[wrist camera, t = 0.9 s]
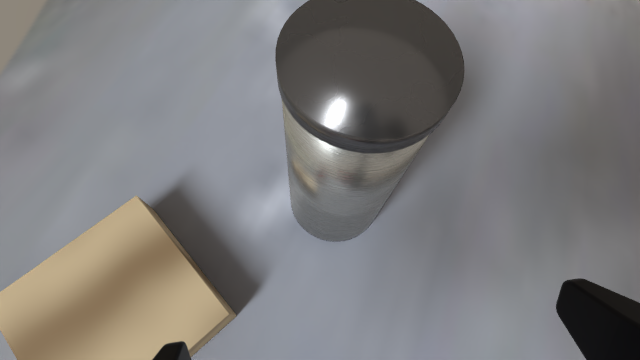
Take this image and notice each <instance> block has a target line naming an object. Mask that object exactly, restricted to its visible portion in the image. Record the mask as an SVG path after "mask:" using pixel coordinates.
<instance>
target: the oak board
mask: <svg viewBox="0 0 640 360" xmlns="http://www.w3.org/2000/svg"><path fill="white" fill-rule="evenodd" d="M236 316H237V315H236V314H235V313H234V312H233V310H232V309H231V308H230V306H229V305H228V304H227V303H226V301H225V300H224V299H223V298H222V296H221V295H220V294H219V292H218V291H217V290H216V289H215V287H214V286H213V285H212V284H211V282H210V281H209V280H208V278H207V277H206V276H205V275H204V273H203V272H202V271H201V270H200V268H199V267H198V266H197V265H196V263H195V262H194V261H193V259H192V258H191V257H190V256H189V254H188V253H187V252H186V251H185V249H184V248H183V247H182V245H181V244H180V243H179V242H178V240H177V239H176V238H175V237H174V235H173V234H172V233H171V232H170V230H169V229H168V228H167V226H166V225H165V224H164V223H163V221H162V220H161V219H160V218H159V216H158V215H157V214H156V212H155V211H154V210H153V209H152V208H151V207H150V206H149V205H147V204H146V203H145V202H144V201H143V200H141V199H140V198H139V197H138V196H135V197H134V198H132V199H131V200H130V201H128V202H127V203H125V204H124V205H122V206H121V207H120V208H118V209H117V210H115V211H114V212H113V213H111V214H110V215H108V216H107V217H106V218H104V219H103V220H101V221H100V222H98V223H97V224H96V225H94V226H93V227H91V228H90V229H89V230H87V231H86V232H84V233H83V234H82V235H80V236H79V237H77V238H76V239H75V240H73V241H72V242H70V243H69V244H67V245H66V246H65V247H63V248H62V249H60V250H59V251H58V252H56V253H55V254H53V255H52V256H51V257H49V258H48V259H46V260H45V261H43V262H42V263H41V264H39V265H38V266H36V267H35V268H34V269H32V270H31V271H29V272H28V273H27V274H25V275H24V276H22V277H21V278H20V279H18V280H17V281H15V282H14V283H12V284H11V285H10V286H8V287H7V288H5V289H4V290H3V291H1V292H0V330H1V332H2V334H3V336H4V337H5V339H6V341H7V343H8V344H9V346H10V348H11V350H12V351H13V353H14V355H15V357H16V358H17V360H152V359H153V358H154V357H155V355H156V354H157V353H158V352H159V350H160V349H161V348H162V347H163V346H164V345H165V344H167V343H172V342H179V341H184V342H185V343H186V345H187V348H188V351H189V354H190V357H192V356H193V355H194V354H195V353H196V352H197V351H198V350H199V349H201V348H202V347H203V346H204V345H205V344H206V343H207V342H208V341H209V340H211V339H212V338H213V337H214V336H215V335H216V334H217V333H218V332H219V331H221V330H222V329H223V328H224V327H225V326H226V325H227V324H228V323H229V322H230V321H232V320H233V319H234V318H235V317H236Z"/></svg>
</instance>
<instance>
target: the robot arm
mask: <svg viewBox="0 0 640 360" xmlns="http://www.w3.org/2000/svg"><path fill="white" fill-rule="evenodd" d="M556 310H557V313H558V315H559V317H560V319H561V320H562V322H563V324H564V325H565V327H566V328H567V330H568V331H569V333H570V335H571V336H572V338H573V339H574V341H575V343H576V344H577V346H578V347H579V349H580V350H581V352H582V354H583V355H584V357H585V358H586V360H640V303H638V302H636V301H634V300H632V299H629V298H627V297H625V296H622V295H620V294H618V293H615V292H613V291H611V290H608V289H606V288H604V287H601V286H599V285H597V284H595V283H592V282H590V281H588V280H585V279H572V280H567V281H565V282H564V283H563V284H562V287H561V290H560V293H559V297H558V300H557V304H556ZM152 360H191V357H190V354H189V351H188V348H187V345H186V343H185V342H184V341H179V342H172V343H167V344H165V345H164V346H163V347H162V348H161V349H160V350H159V352H158V353H157V354H156V355H155V357H154V358H153V359H152Z"/></svg>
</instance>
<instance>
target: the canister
mask: <svg viewBox="0 0 640 360" xmlns="http://www.w3.org/2000/svg"><path fill="white" fill-rule="evenodd" d="M276 69H277V79H278V87H279V91H280V94H281V98H282V104H283V116H284V128H285V140H286V152H287V164H288V176H289V187H290V199H291V207H292V211H293V214H294V216H295V218H296V220H297V221H298V223H299V224H300V225H301V227H302V228H303V229H304V230H306V231H307V232H308V233H309V234H311V235H313V236H315V237H317V238H319V239H322V240H326V241H332V242H340V241H346V240H350V239H352V238H355V237H357V236H358V235H360V234H362V233H363V232H364V231H365V230H366V229H367V228H368V227H369V226H370V225H371V223H372V222H373V220H374V219H375V217H376V216H377V214H378V213H379V211H380V209H381V208H382V206H383V205H384V203H385V202H386V200H387V199H388V197H389V196H390V194H391V193H392V191H393V190H394V188H395V187H396V185H397V183H398V182H399V180H400V179H401V177H402V176H403V174H404V173H405V171H406V170H407V168H408V167H409V165H410V164H411V162H412V161H413V159H414V158H415V156H416V154H417V153H418V151H419V150H420V148H421V147H422V145H423V144H424V142H425V141H426V139H427V138H428V136H429V135H430V134H431V133H432V132H433V131H434V130H435V129H436V128H437V127H438V126H439V124H440V123H441V121H442V120H443V119H444V117H445V116H446V114H447V113H448V111H449V110H450V108H451V107H452V105H453V104H454V102H455V101H456V99H457V97H458V95H459V93H460V91H461V87H462V84H463V78H464V61H463V56H462V52H461V49H460V46H459V44H458V41H457V40H456V38H455V36H454V34H453V33H452V31H451V30H450V29H449V27H448V26H447V25H446V24H445V22H444V21H443V20H442V19H441V18H440V17H439V16H438V15H436V14H435V13H434V12H433V11H432V10H430V9H429V8H427V7H426V6H424V5H423V4H421V3H419V2H418V1H416V0H309V1H307V2H306V3H305V4H303V5H302V6H301V7H299V8H298V9H297V10H296V11H295V12H294V13H293V14H292V15H291V16H290V17H289V19H288V20H287V21H286V23H285V24H284V26H283V28H282V30H281V32H280V35H279V37H278V40H277V45H276Z"/></svg>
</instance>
